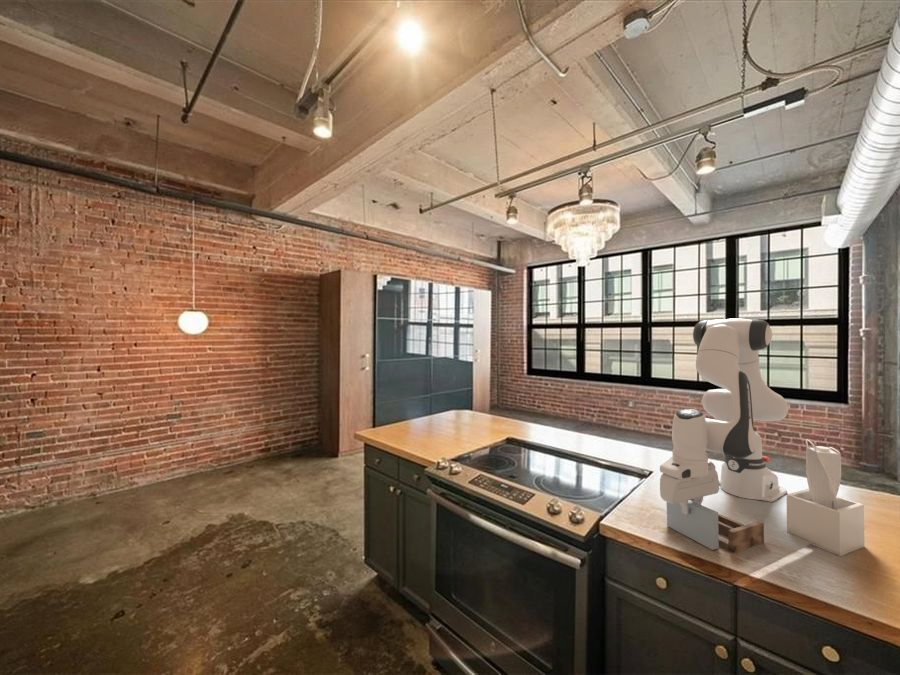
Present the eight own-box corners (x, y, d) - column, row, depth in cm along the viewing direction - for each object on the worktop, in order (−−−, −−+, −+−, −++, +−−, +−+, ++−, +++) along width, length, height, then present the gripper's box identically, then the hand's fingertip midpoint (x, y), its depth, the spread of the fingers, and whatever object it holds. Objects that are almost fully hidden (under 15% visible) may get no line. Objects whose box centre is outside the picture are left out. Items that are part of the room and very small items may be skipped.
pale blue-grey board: (672, 524, 115) (672, 492, 115) (718, 548, 102) (718, 512, 102) (667, 525, 115) (666, 493, 115) (712, 550, 101) (711, 514, 101)
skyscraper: (798, 533, 110) (796, 440, 110) (813, 527, 113) (811, 436, 113) (836, 548, 102) (834, 448, 102) (851, 541, 105) (849, 444, 105)
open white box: (810, 526, 115) (810, 488, 115) (864, 546, 104) (863, 504, 104) (787, 534, 111) (786, 494, 111) (840, 556, 100) (839, 512, 100)
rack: (697, 516, 123) (697, 495, 123) (764, 547, 105) (763, 522, 105) (669, 524, 119) (668, 502, 119) (733, 557, 100) (732, 532, 100)
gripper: (704, 457, 115) (704, 501, 115) (655, 467, 108) (656, 513, 108) (725, 463, 109) (726, 510, 109) (675, 474, 102) (676, 524, 102)
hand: (690, 512), depth 108 cm, fingers closed on pale blue-grey board, 2 cm apart
